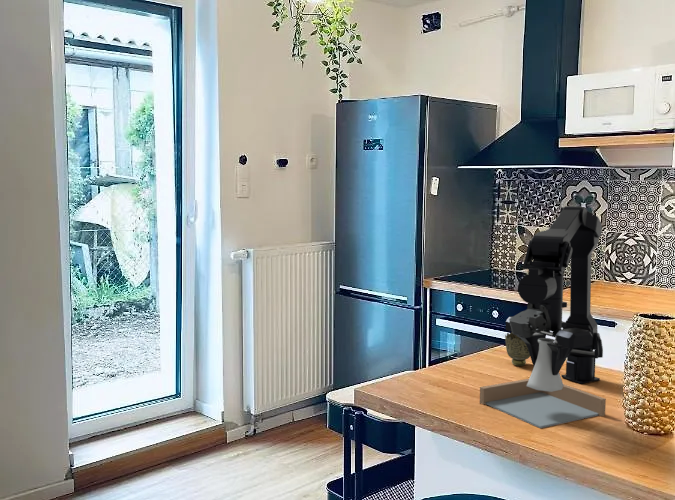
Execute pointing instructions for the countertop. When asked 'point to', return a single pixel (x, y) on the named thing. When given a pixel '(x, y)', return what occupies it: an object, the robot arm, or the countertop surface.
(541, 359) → the flask
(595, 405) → the corner arena
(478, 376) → the countertop surface
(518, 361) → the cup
